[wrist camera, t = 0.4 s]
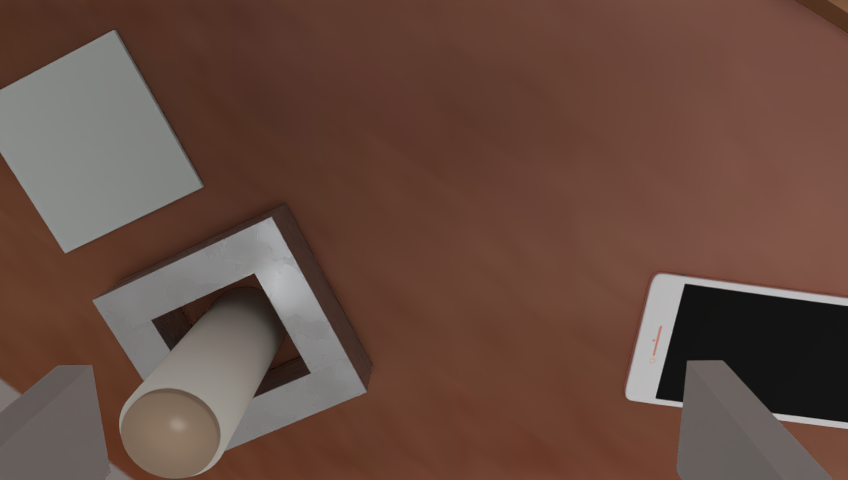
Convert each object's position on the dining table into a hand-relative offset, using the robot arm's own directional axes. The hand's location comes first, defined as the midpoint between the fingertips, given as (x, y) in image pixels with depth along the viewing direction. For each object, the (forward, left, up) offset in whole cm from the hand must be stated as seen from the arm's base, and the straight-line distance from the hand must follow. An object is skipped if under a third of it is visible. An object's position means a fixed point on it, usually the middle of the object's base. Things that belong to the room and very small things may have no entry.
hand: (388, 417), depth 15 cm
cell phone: (+19, +16, -27) cm, 37 cm away
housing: (+3, -14, -26) cm, 30 cm away
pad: (-11, -17, -26) cm, 33 cm away
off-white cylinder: (+3, -14, -26) cm, 30 cm away
